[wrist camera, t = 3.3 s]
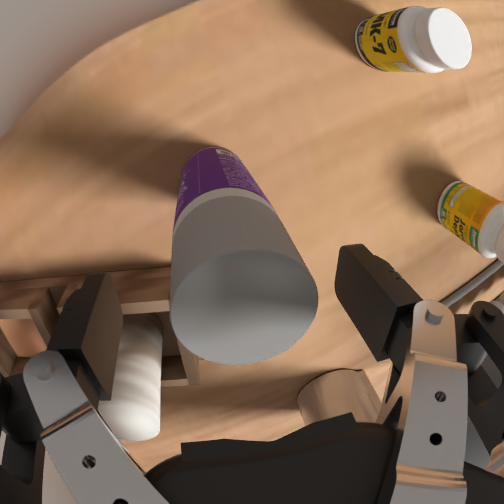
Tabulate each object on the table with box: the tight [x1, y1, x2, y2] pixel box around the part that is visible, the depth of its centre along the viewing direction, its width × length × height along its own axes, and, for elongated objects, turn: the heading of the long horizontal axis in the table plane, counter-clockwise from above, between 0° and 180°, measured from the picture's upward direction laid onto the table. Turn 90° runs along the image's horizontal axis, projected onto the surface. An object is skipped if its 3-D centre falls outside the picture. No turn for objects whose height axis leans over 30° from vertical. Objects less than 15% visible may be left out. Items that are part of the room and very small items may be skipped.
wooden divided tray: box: [0, 266, 205, 441], centre depth 21 cm, size 24×10×12 cm, turn 91°
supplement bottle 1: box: [355, 6, 472, 73], centre depth 15 cm, size 5×5×8 cm
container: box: [170, 147, 318, 365], centre depth 15 cm, size 5×5×15 cm
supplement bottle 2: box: [437, 181, 504, 263], centre depth 23 cm, size 5×5×10 cm
